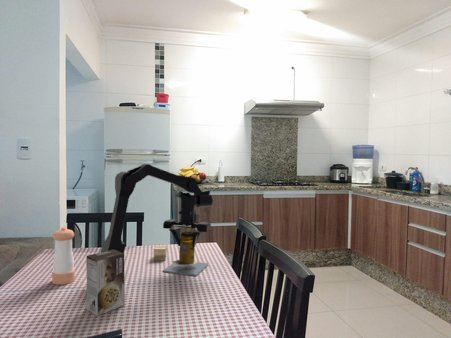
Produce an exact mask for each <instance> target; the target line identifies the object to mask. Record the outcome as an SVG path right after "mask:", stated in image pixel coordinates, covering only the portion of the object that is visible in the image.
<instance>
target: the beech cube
mask: <svg viewBox="0 0 451 338" xmlns="http://www.w3.org/2000/svg"><path fill="white" fill-rule="evenodd" d="M167 247H168V245H155V246H154V248H153V261H166V258H167V251H168V250H167V249H168V248H167Z"/></svg>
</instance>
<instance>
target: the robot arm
mask: <svg viewBox="0 0 451 338" xmlns="http://www.w3.org/2000/svg"><path fill="white" fill-rule="evenodd" d="M146 177H151V178H155V179H158V180H161V181H163V182H166V183H168V184H172V185H173V186H174V187H176V188H177V189H180V191H178V192H177V193H176V194H175V197H176V198H179V201H180V202H179V206H180V207H179V211H178V215H179V221H178V219H172V218H171V219H167V220H164V221H163V223H162V229H166V230H167V229H169V230H168V231H169V232H171V234H172V235H173V237H174V239H175V241H176V244H177V247H180V239H181V231H182V228H186V229H188V228H189V229H194V230H193V231H192V232H193V248H194V247H195V248H196V245H197V243H198V239H199V237H200V235H201V234H202V233H208V232H209V231H210V230H212V223H210V222H206V221H201V222H200V214H197V213H196V210H195V209H196V208H208V207H211V206H212V205H213V203H214V202H213V201H214V199H213V196H212V194H211V191H210V189H209V190H208V189H206V190H201V188H200V187H199V185H198V181H197V179H196V178H194V177H192V176H191V177H189V176H185V175H184V176H183V175H178V174H175V173H173V172H169V171H167V170H164V169H161V168H159V167H156V166H153V165H151V164H148V163H143V164H141V165H138V166H137V167H134V168H131V169H129V170H127V171H120V172H118V173H117V174H115V177H114V190H115V201H114V206H113V211H112V214H111V215H112V216H111V221H110V225H109V231H108V235H107V237H106V239H105V240H104V241H103V244H102V246H101V249H100V252H104V251H109V250H117V251H119V252H121V253H124V254H125V249H126V247H127V245H126V243H125V242H124V241H122V236H123V230H124V226H125V221H126V214H127V210H128V205H129V201H130V197H131V195H132V194H133V192H134V190H135V188H136V185H137V183H139V182H141V181H142V180H144V179H145V178H146ZM183 191H184V192H183ZM195 206H196V208H195Z"/></svg>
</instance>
